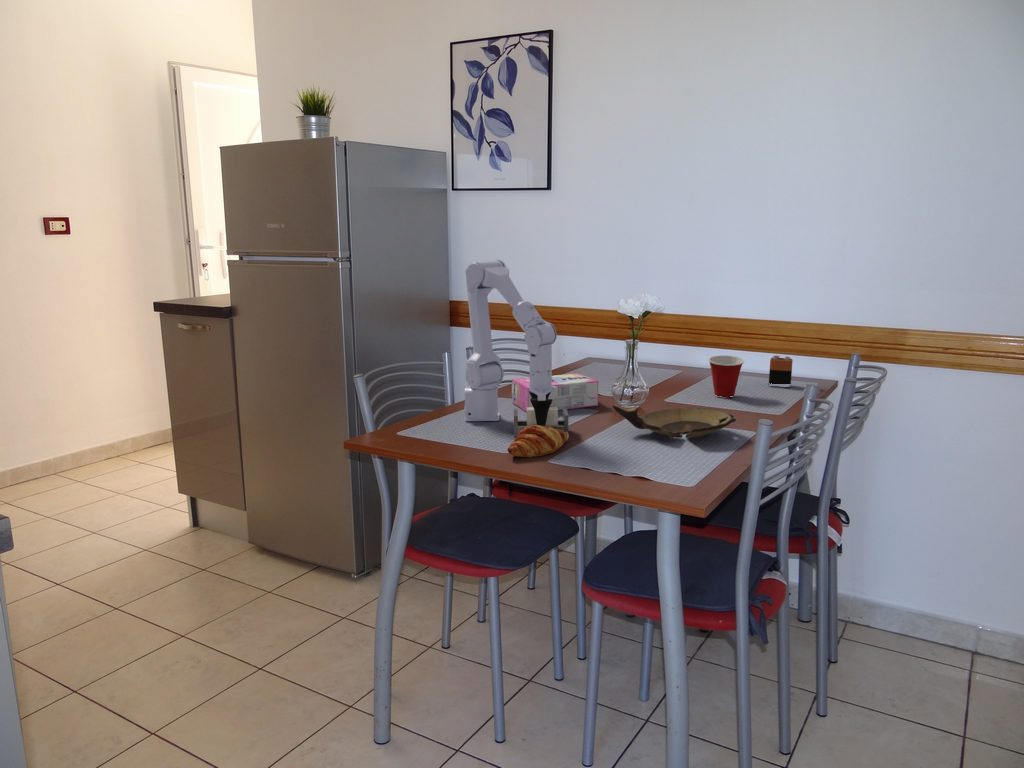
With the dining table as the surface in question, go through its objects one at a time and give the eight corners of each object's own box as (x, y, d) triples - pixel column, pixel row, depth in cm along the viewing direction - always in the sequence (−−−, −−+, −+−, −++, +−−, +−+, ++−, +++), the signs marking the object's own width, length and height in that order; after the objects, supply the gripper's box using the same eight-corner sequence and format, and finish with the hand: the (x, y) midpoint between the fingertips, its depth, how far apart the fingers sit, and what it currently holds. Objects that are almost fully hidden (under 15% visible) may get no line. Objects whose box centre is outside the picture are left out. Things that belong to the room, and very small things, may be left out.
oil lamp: (722, 452, 188) (724, 421, 187) (605, 437, 202) (605, 408, 200) (742, 429, 208) (743, 401, 206) (633, 417, 221) (634, 390, 220)
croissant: (558, 452, 201) (547, 423, 202) (586, 441, 194) (574, 410, 195) (501, 470, 186) (490, 439, 187) (530, 459, 179) (518, 426, 180)
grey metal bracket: (514, 437, 202) (513, 416, 201) (513, 429, 209) (513, 409, 208) (568, 436, 202) (568, 415, 201) (566, 429, 209) (566, 408, 208)
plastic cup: (707, 399, 241) (709, 361, 238) (705, 391, 251) (707, 355, 248) (744, 400, 239) (746, 362, 236) (740, 393, 249) (742, 355, 246)
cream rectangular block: (527, 432, 204) (526, 410, 203) (526, 429, 207) (526, 407, 206) (557, 432, 204) (557, 410, 203) (557, 429, 207) (557, 407, 206)
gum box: (602, 406, 234) (583, 396, 246) (603, 380, 232) (583, 371, 244) (527, 413, 226) (511, 403, 238) (527, 387, 224) (511, 377, 237)
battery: (769, 384, 262) (771, 354, 260) (790, 385, 259) (792, 355, 257) (768, 386, 258) (770, 356, 256) (790, 388, 255) (792, 358, 253)
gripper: (557, 375, 195) (557, 428, 198) (554, 364, 209) (554, 414, 212) (529, 376, 195) (529, 428, 198) (528, 365, 209) (528, 414, 212)
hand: (540, 421), depth 205 cm, fingers open, 7 cm apart
